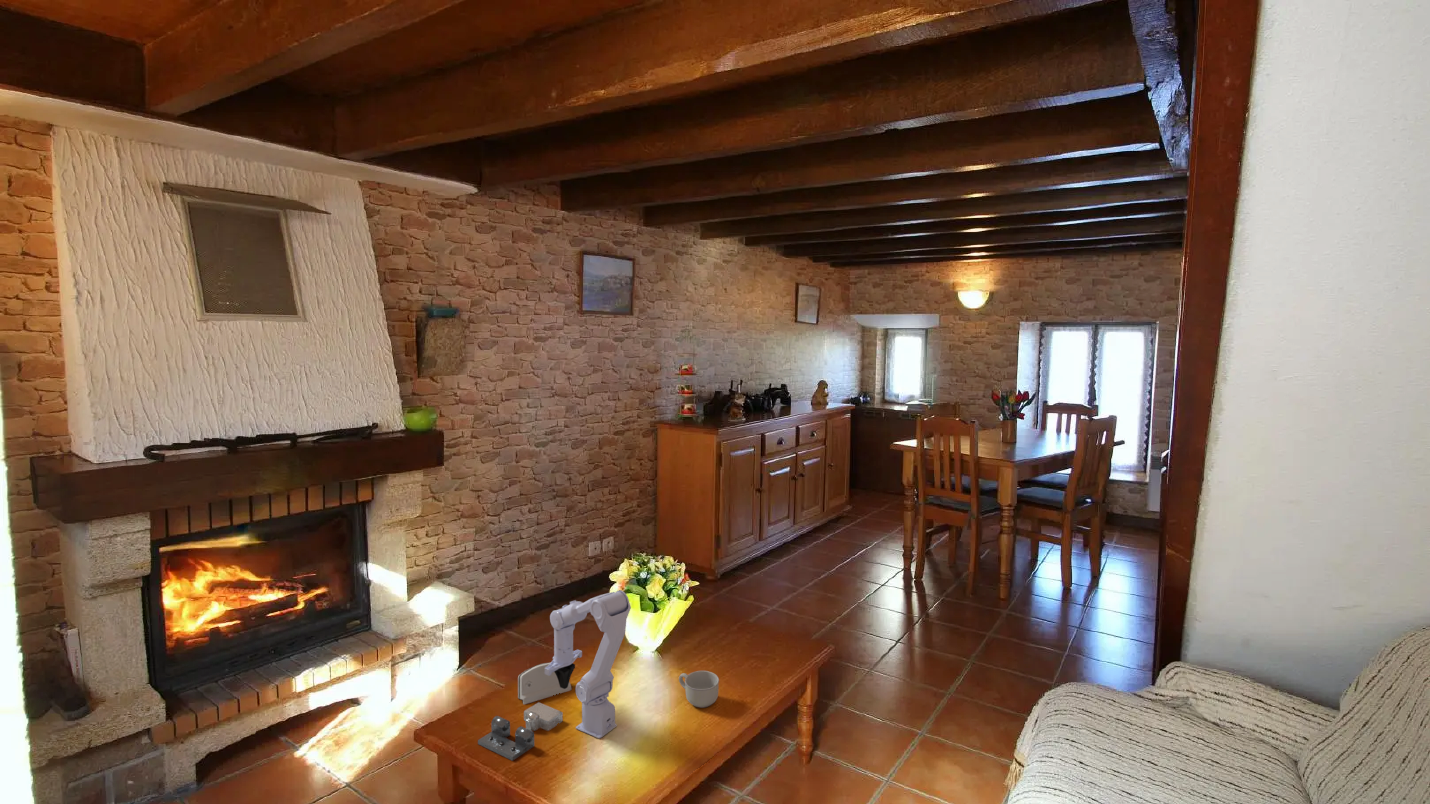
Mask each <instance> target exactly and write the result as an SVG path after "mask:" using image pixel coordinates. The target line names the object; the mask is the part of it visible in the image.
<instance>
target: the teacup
mask: <svg viewBox="0 0 1430 804" xmlns="http://www.w3.org/2000/svg"><path fill="white" fill-rule="evenodd" d="M683 678H684V680H683ZM678 682H679V683H680V685H681V687H682V688H683V689H684V690H685V697H686V700H687V701H688V702H689V703H690V704H691V705H692V706H694V707H696V708H700V709H701V708H708V707H710V706H712V705H713V704H714V703H716V701H717V700H718V697H719V683H720V679H719V676H718V675H717V674H716V673H714V672H712V671H708V670H697V671H693V672H690V673H688V674H687V673H685V672H683V673H680V675H679V676H678Z"/></svg>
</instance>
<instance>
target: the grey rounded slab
mask: <svg viewBox="0 0 1430 804" xmlns="http://www.w3.org/2000/svg"><path fill="white" fill-rule="evenodd" d="M550 663H551V662H544V663H540V664H537V665H534V666H531V667H530V668H528V669H525V670H524V671H523V672H521V673H520V674H519V675H518V677H517V698H518V699H519V700H522V704H523V705H527V704H530V703H534V702H536V701H540V700H543V699H546V698H550V697H554V696H556V694H557V695H559V693H560V694H562V693H566V692H570V691H572V685H571V682H570V681H569V684H568V687H567V688H566V689H563V688H561V687H560V685H559V681H558V678H557V676H556V674H555V672H552V673H551V675H550V676H548V675H546V674H545V668H546V667H547V666H548V665H549V664H550ZM553 695H554V696H553Z"/></svg>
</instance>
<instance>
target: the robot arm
mask: <svg viewBox="0 0 1430 804" xmlns="http://www.w3.org/2000/svg"><path fill="white" fill-rule="evenodd" d="M631 608H632V606H631V603H630V599H629V597H628V595H627V593H626V592H625V591H624V590H617V591H613V592H607V593H604V594H599V595H597V596H594V597H592V598H589V599H588V600H586V601H584V602H583V601H580V600H579V601H578V600H576V599H575V600H572V601H569V604H564V605H563V606H562V607H561V608H559V609H556V610H552V612H551V613H550V615H549V621H550V624H551V627H552V628H553V637H554V638H553V644H554V645H553V654H554V655H553V656H552V660H551V662H549V663H550V664H549V665H548V666H547V667H546V668H545V674H546V675H548V676H550V675H551V673H552V672H555V674H556V676H557V678H558V681H559V685H560V687H561V688H563V689H566V688H567V687H568V684H569V682H570V680H571V677H572V675H573V672H574V670H575V669H576V664H575V663H574V662H575V661H576V660H577V659H578V658H579V659H580V658H582V657H583V651H582V650H580V649H576V650H574V630H576V626H575V625H576V624H577V623H579V622H581V621H584V620H585V619H586V618H587V615H588V614H589V613H590V614H591V616H592V617H593V619H594V620H595V623H596V625H597V627H598V629H599V630H600V632H603V637H602V638H601V641H600V644H599V645H598V650H597V651H596V654H595V657H594V660H593V662H592V664H591V666H590V667H591V668H590V670H589V671H587V672H586V673H585V674H584V675H583V676H582V677H581V679H580V681H578V682H577V683H576V685H575V694H576V697H577V699H578V700H579V701H580V702H581V723H579V724H578V725H576V726H575V729H576V730H578V731H581V732H583V733H585V734H587V735H590V736H592V737H594V738H597V739H601V738H603V737H604V736H605V735H607V734H608V733H609V732H610V731H611V732H612V731H613V729H614V728H616V727H617V726H618V725H617V723H616V707H615V705H614V703H612V702H611V701H610V700H609V699H608V697H610V695H609V694H610V693H611V692H612V690H613V680H614V674H613V673H612V671H611V670H612V667H613V664H614V663H615V659H616V657H617V655H618V651H619V649H620V647H621V644H622V642H623V639H624V637H625V634H626V627H627V619H628V617H629V613H630V611H631Z"/></svg>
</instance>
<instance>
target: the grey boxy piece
mask: <svg viewBox="0 0 1430 804" xmlns="http://www.w3.org/2000/svg"><path fill="white" fill-rule="evenodd" d="M563 714H564V713H563V711H560V710H558V709H556V708H553V707H551V706H549V705H547V704H544V703H541V702H539V701H538V702H537V703H535V704H534V705H532V706H530V707H528V708H526V709H525V710H524V711H523V721H525V728H526V729H528V730H531V731H533V732H534V731H537V730H538V729H543V730H544V731H547V732H549V731H551V730H552V729H554V728H555V727H556V726H558V725H559V724H561V723H562V722H563ZM558 723H559V724H558ZM557 724H558V725H557Z"/></svg>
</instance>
